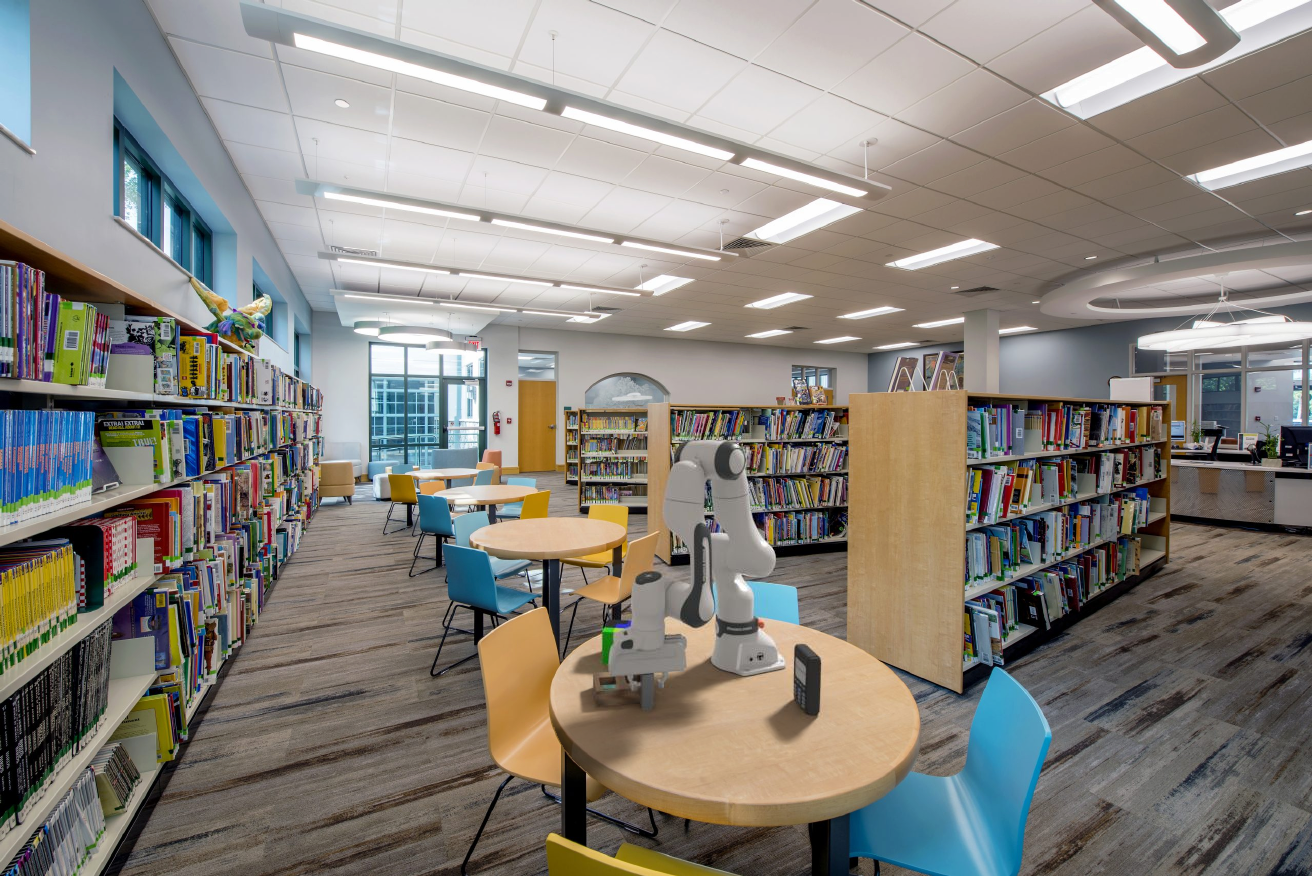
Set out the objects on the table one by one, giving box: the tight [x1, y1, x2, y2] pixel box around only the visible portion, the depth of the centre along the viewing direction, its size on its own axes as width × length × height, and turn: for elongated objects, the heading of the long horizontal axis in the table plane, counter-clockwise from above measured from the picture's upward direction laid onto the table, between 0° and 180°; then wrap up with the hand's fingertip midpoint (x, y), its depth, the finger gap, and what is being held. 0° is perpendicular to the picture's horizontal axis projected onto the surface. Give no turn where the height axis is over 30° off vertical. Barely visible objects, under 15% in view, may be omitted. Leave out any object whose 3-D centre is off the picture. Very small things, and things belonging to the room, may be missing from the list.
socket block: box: [592, 671, 641, 708], centre depth 144 cm, size 14×10×4 cm
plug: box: [639, 673, 655, 711], centre depth 138 cm, size 3×3×9 cm
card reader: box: [793, 643, 822, 716], centre depth 138 cm, size 9×4×15 cm, turn 10°
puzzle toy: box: [601, 619, 632, 665], centre depth 166 cm, size 10×10×10 cm
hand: (647, 688), depth 138 cm, fingers open, 5 cm apart
